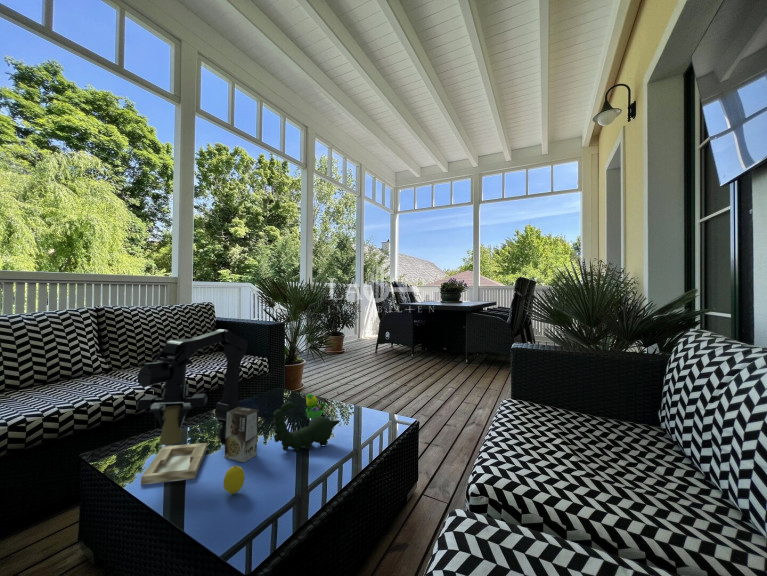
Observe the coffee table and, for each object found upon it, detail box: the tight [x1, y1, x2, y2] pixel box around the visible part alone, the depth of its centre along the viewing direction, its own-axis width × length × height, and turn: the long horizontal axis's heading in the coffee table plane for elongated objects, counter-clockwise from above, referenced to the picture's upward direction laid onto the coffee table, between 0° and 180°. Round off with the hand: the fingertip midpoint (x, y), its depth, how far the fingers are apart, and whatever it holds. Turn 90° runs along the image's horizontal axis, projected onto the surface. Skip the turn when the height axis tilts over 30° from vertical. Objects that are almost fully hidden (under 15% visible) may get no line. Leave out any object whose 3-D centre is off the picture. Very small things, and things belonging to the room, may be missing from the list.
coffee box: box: [224, 406, 260, 463], centre depth 116 cm, size 9×6×16 cm
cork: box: [158, 404, 182, 446], centre depth 105 cm, size 6×6×11 cm
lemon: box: [223, 465, 246, 495], centre depth 94 cm, size 6×6×8 cm
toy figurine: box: [272, 401, 340, 452], centre depth 125 cm, size 9×19×25 cm
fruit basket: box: [305, 393, 327, 419], centre depth 157 cm, size 11×9×11 cm
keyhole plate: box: [140, 442, 208, 486], centre depth 107 cm, size 14×20×2 cm
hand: (171, 428), depth 105 cm, fingers closed on cork, 4 cm apart
